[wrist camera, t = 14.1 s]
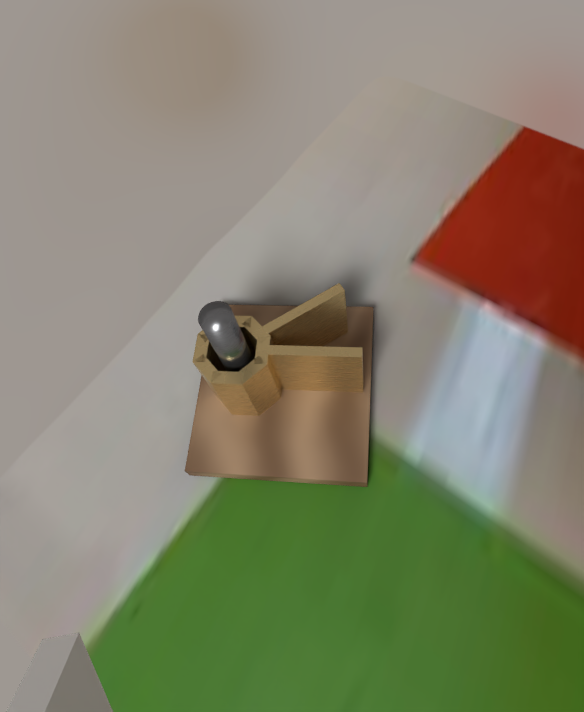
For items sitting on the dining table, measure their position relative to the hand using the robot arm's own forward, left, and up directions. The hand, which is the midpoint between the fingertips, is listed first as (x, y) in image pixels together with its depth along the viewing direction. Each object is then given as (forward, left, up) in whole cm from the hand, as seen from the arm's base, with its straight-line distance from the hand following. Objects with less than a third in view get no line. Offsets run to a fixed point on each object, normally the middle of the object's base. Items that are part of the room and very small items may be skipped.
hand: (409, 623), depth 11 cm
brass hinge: (+8, -19, -31) cm, 38 cm away
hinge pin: (+12, -18, -31) cm, 38 cm away
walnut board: (+9, -18, -33) cm, 38 cm away
